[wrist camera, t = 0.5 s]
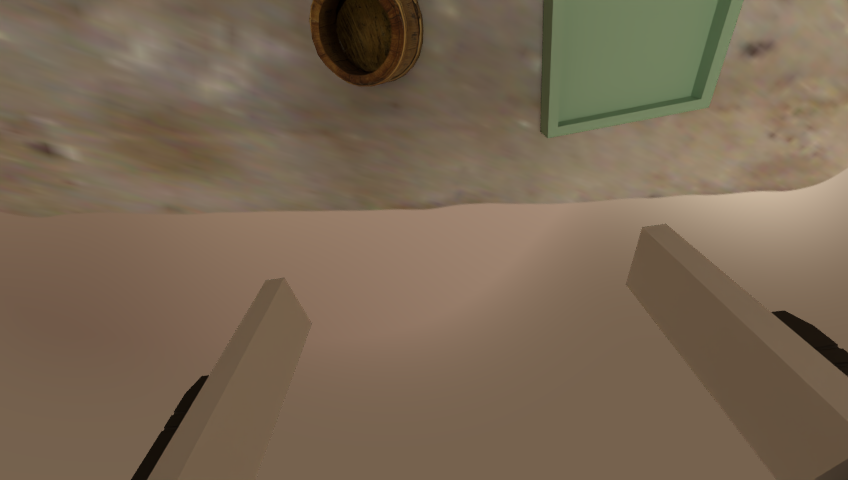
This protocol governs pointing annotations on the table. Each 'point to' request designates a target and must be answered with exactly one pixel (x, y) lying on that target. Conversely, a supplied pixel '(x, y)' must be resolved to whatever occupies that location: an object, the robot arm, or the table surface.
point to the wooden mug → (367, 38)
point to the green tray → (630, 59)
